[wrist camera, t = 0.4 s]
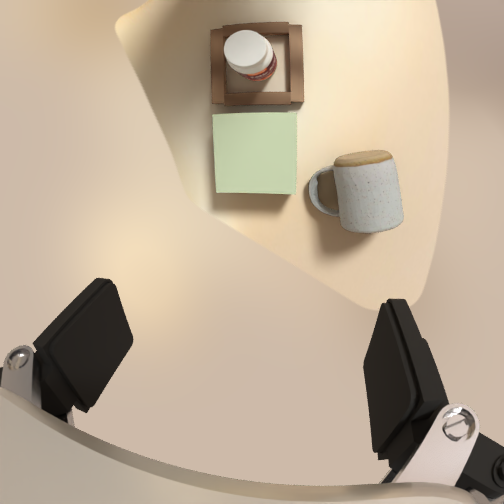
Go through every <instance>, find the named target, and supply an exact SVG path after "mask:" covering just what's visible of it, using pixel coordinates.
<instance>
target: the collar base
mask: <svg viewBox="0 0 504 504" xmlns="http://www.w3.org/2000/svg"><path fill="white" fill-rule="evenodd" d="M242 30H251V31H254V32H257V33H258V34H260V35H261V36H268V35H289V46H290V79H291V92H248V93H229V94H227V93H226V57H225V54H224V45H225V38H229V37H230V36H231V35H232V34H234V33H236V32H238V31H242ZM211 85H212V104H222V103H224V106H238V105H291V102H304V70H303V42H302V25H289V22H264V23H247V24H235V25H225V26H223V28H221V29H214V30H211Z"/></svg>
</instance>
